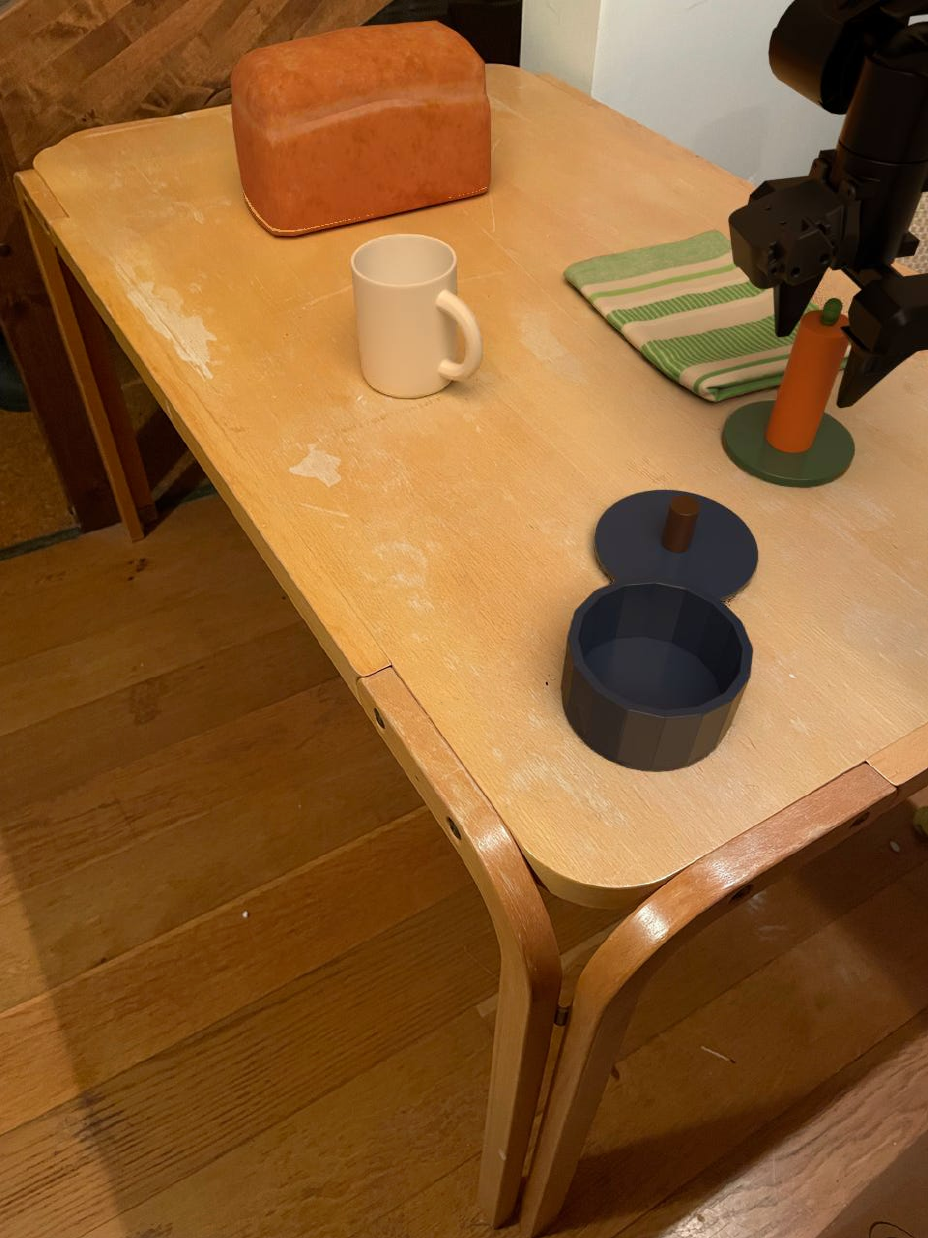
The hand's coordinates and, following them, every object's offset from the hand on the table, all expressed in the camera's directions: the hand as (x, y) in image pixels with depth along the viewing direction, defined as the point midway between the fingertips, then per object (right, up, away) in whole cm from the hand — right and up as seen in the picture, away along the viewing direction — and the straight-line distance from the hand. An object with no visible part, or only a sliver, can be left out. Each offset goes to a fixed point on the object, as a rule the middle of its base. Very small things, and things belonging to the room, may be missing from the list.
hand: (811, 369), depth 65 cm
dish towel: (-3, +9, +17) cm, 20 cm away
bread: (-36, +29, +34) cm, 58 cm away
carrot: (0, -4, +5) cm, 6 cm away
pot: (-14, -23, -11) cm, 29 cm away
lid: (-11, -13, -3) cm, 17 cm away
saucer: (0, -5, +5) cm, 7 cm away
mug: (-29, +2, +11) cm, 31 cm away
